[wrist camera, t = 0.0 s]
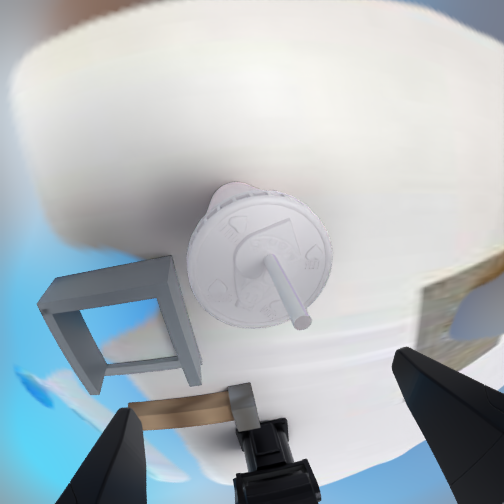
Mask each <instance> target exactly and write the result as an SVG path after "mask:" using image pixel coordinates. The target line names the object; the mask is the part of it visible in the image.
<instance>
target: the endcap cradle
mask: <svg viewBox="0 0 504 504" xmlns="http://www.w3.org/2000/svg"><path fill="white" fill-rule="evenodd" d="M152 298H157V301H158V304H159V307H160V309H161V312H162V315H163V318H164V321H165V324H166V327H167V329H168V332H169V335H170V338H171V340H172V343H173V346H174V348H175V351H176V354H177V356H176V357H169V358H161V359H154V360H145V361H137V362H127V363H117V364H107V363H106V361H105V360H104V358H103V356H102V354H101V352H100V351H99V349H98V347H97V345H96V343H95V341H94V339H93V337H92V335H91V333H90V331H89V329H88V327H87V325H86V323H85V322H84V319H83V317H82V315H81V313H80V311H79V310H83V309H90V308H96V307H102V306H109V305H115V304H122V303H128V302H134V301H140V300H146V299H152ZM37 306H38V308H39V310H40V312H41V314H42V316H43V318H44V320H45V322H46V324H47V325H48V327H49V329H50V331H51V333H52V335H53V336H54V338H55V340H56V342H57V344H58V345H59V347H60V349H61V350H62V352H63V354H64V355H65V357H66V359H67V360H68V362H69V363H70V365H71V367H72V368H73V370H74V372H75V373H76V375H77V376H78V378H79V379H80V381H81V382H82V384H83V385H84V386H85V388H86V389H87V391H88V392H89V394H90V395H99V394H100V391H101V386H102V383H103V379H104V376H111V375H123V374H134V373H144V372H153V371H161V370H169V369H177V368H182V369H183V371H184V374H185V376H186V378H187V381H188V383H189V386H190V387H192V386H199V385H202V382H201V366H200V365H202V358H201V355H200V352H199V349H198V346H197V343H196V340H195V336H194V333H193V330H192V327H191V323H190V320H189V317H188V313H187V310H186V307H185V303H184V300H183V296H182V292H181V289H180V285H179V282H178V278H177V274H176V270H175V267H174V263H173V259H172V255H171V256H166V257H160V258H155V259H150V260H145V261H139V262H134V263H129V264H124V265H118V266H113V267H108V268H103V269H98V270H93V271H88V272H83V273H78V274H72V275H68V276H62V277H57V278H55V279H54V281H53V282H52V283H51V285H50V286H49V287H48V289H47V290H46V291H45V293H44V294H43V296H42V297H41V299H40V300H39V302H38V303H37Z"/></svg>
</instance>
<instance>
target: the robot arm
mask: <svg viewBox="0 0 504 504" xmlns="http://www.w3.org/2000/svg"><path fill="white" fill-rule="evenodd" d="M392 371H393V374H394V376H395V378H396V380H397V383H398V385H399V387H400V390H401V392H402V395H403V397H404V399H405V402H406V404H407V406H408V408H409V410H410V411H411V413H412V415H413V417H414V419H415V420H416V422H417V424H418V426H419V428H420V430H421V431H422V433H423V435H424V437H425V439H426V441H427V443H428V444H429V446H430V448H431V450H432V452H433V454H434V456H435V458H436V460H437V462H438V464H439V466H440V468H441V469H442V472H443V474H444V476H445V478H446V480H447V482H448V484H449V486H450V488H451V490H452V492H453V494H454V496H455V499H456V501H457V503H458V504H504V393H501V392H499V391H497V390H495V389H492V388H490V387H488V386H486V385H485V386H484V384H482V383H480V382H478V381H476V380H474V379H472V378H470V377H468V376H466V375H464V374H462V373H459V372H457V371H455V370H453V369H451V368H449V367H447V366H445V365H443V364H441V363H439V362H437V361H435V360H433V359H431V358H429V357H427V356H425V355H423V354H421V353H419V352H417V351H415V350H413V349H411V348H409V347H403V348H400V349H398V350H397V351H396V352H395V355H394V359H393V363H392ZM260 427H261V428H256V429H251V430H246V431H240V432H238V429H236V435H237V437H238V440H239V443H240V446H241V448H242V451H243V452H244V453H245V458H246V463H247V468H248V472H247V473H237V474H236V478H234V479H233V483H234V488H235V504H318V502H320V501H321V494H320V490H319V486H318V483H317V481H316V478H315V476H314V474H313V472H312V469H311V467H310V465H309V462H308V460H307V459H303V460H302V461H298V462H294V460H293V457H292V453H291V450H290V447H289V444H288V442H289V439H288V424H287V420H286V419H280V420H276V421H272V422H267V423H262V424H260ZM55 504H147V495H146V458H145V449H144V439H143V427H142V423H141V420H140V419H139V418H138V416H137V415H136V413H135V412H134V410H133V409H132V408H130V407H128V408H120V409H119V410H118V411H117V412H116V414H115V415H114V417H113V418H112V420H111V421H110V423H109V424H108V426H107V427H106V429H105V430H104V432H103V433H102V434H101V436H100V437H99V439H98V440H97V442H96V443H95V445H94V446H93V448H92V449H91V451H90V452H89V454H88V455H87V457H86V458H85V460H84V461H83V463H82V464H81V466H80V468H79V469H78V471H77V472H76V473H75V475H74V477H73V478H72V480H71V481H70V483H69V484H68V486H67V487H66V489H65V490H64V492H63V493H62V494H61V496H60V498H59V499H58V500H57V501H56V503H55Z"/></svg>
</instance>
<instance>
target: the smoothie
mask: <svg viewBox="0 0 504 504" xmlns="http://www.w3.org/2000/svg"><path fill="white" fill-rule="evenodd" d="M332 258H333V252H332V244H331V240H330V237H329V234H328V232H327V229H326V228H325V226H324V224H323V223H322V221H321V220H320V219H319V218H318V216H317V215H316V214H315V213H314V212H313V211H312V210H311V209H310V208H309V207H308V206H307V205H306V204H304V203H303V202H301V201H300V200H298V199H297V198H295V197H294V196H292V195H289V194H285V193H282V192H279V191H275V190H260V189H258V188H255V187H253V186H250V185H248V184H245V183H242V182H231V183H227V184H225V185H223V186H221V187H220V188H219V189H218V190H217V191H216V192H215V193H214V195H213V196H212V199H211V201H210V204H209V207H208V210H207V213H206V215H205V216H204V217H203V218H202V219H201V220H200V222H199V223H198V225H197V227H196V228H195V230H194V232H193V234H192V235H191V238H190V242H189V246H188V250H187V272H188V279H189V283H190V286H191V289H192V292H193V294H194V296H195V298H196V299H197V301H198V302H199V303H200V305H201V306H202V307H203V308H204V309H205V310H206V311H207V312H208V313H209V314H210V315H212V316H213V317H215V318H216V319H218V320H220V321H222V322H224V323H227V324H229V325H233V326H237V327H242V328H265V327H270V326H274V325H278V324H281V323H283V322H286V321H288V320H290V319H291V321H292V323H293V326H294V328H295V329H297V330H304V329H306V328H308V327H309V326H310V325H311V322H312V319H311V317H310V315H309V313H308V312H307V310H306V309H307V308H308V307H309V306H310V305H311V304H312V303H313V302H314V301H315V300H316V298H317V297H318V296H319V295H320V293H321V292H322V290H323V288H324V286H325V285H326V282H327V280H328V278H329V275H330V271H331V267H332Z"/></svg>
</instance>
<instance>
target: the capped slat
mask: <svg viewBox="0 0 504 504" xmlns="http://www.w3.org/2000/svg"><path fill="white" fill-rule="evenodd" d="M128 407H130V408H132V409H133V410H134V412H135V413H136V415H137V416H138V418H139V419H140V420H141V423H142V427H143V430H159V429H172V428H183V427H192V426H200V425H208V424H215V423H221V422H228V421H234V420H235V423H236V426H237V429H238V432H240V431H246V430H251V429H256V428H261V427H260V422H259V418H258V413H257V408H256V404H255V399H254V395H253V391H252V387H251V383H246V384H241V385H235V386H230V387H228V391H225V392H219V393H213V394H206V395H199V396H192V397H185V398H176V399H167V400H157V401H146V402H132V403H128Z"/></svg>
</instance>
